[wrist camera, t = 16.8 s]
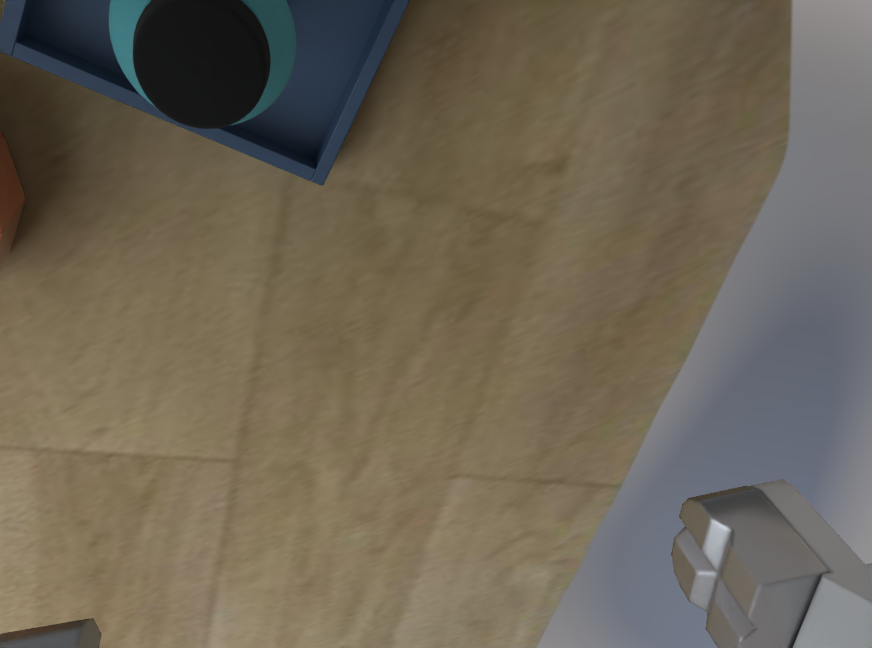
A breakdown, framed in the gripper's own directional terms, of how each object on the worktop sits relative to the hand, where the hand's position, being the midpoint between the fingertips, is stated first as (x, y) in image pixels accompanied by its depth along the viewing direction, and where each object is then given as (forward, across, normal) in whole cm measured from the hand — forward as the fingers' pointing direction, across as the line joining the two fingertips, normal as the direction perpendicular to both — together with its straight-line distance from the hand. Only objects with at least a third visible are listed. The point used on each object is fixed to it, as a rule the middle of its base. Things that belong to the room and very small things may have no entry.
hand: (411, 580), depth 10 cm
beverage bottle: (+37, +3, -4) cm, 37 cm away
